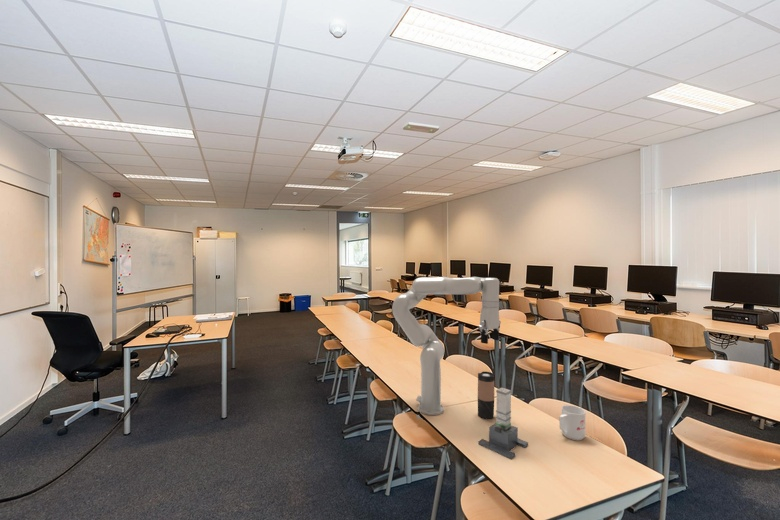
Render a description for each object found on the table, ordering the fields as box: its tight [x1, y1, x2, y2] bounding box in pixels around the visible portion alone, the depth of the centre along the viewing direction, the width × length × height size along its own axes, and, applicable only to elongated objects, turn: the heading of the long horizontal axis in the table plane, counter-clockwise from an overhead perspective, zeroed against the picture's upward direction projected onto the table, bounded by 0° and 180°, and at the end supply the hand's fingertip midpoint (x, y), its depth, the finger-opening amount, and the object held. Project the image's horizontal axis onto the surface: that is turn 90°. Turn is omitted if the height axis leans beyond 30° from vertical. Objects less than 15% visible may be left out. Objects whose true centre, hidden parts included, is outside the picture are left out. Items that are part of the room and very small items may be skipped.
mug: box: [558, 404, 586, 441], centre depth 143 cm, size 12×9×11 cm
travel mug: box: [477, 371, 495, 421], centre depth 161 cm, size 8×8×20 cm
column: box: [495, 387, 512, 432], centre depth 136 cm, size 4×4×16 cm
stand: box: [478, 422, 529, 460], centre depth 136 cm, size 14×14×8 cm
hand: (490, 341), depth 157 cm, fingers open, 9 cm apart
